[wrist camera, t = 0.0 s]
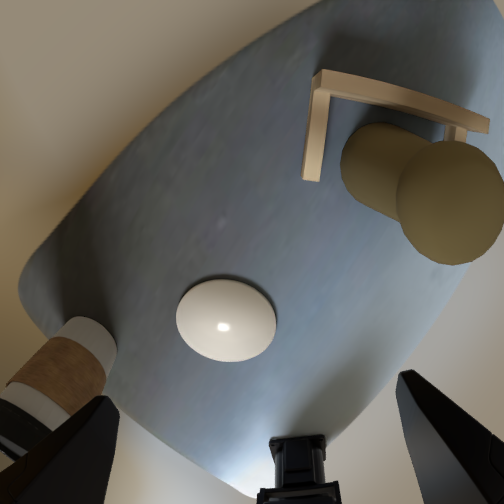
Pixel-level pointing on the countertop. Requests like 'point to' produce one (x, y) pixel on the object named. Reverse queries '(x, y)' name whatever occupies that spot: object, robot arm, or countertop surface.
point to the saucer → (226, 320)
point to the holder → (382, 96)
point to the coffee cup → (55, 384)
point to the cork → (427, 190)
